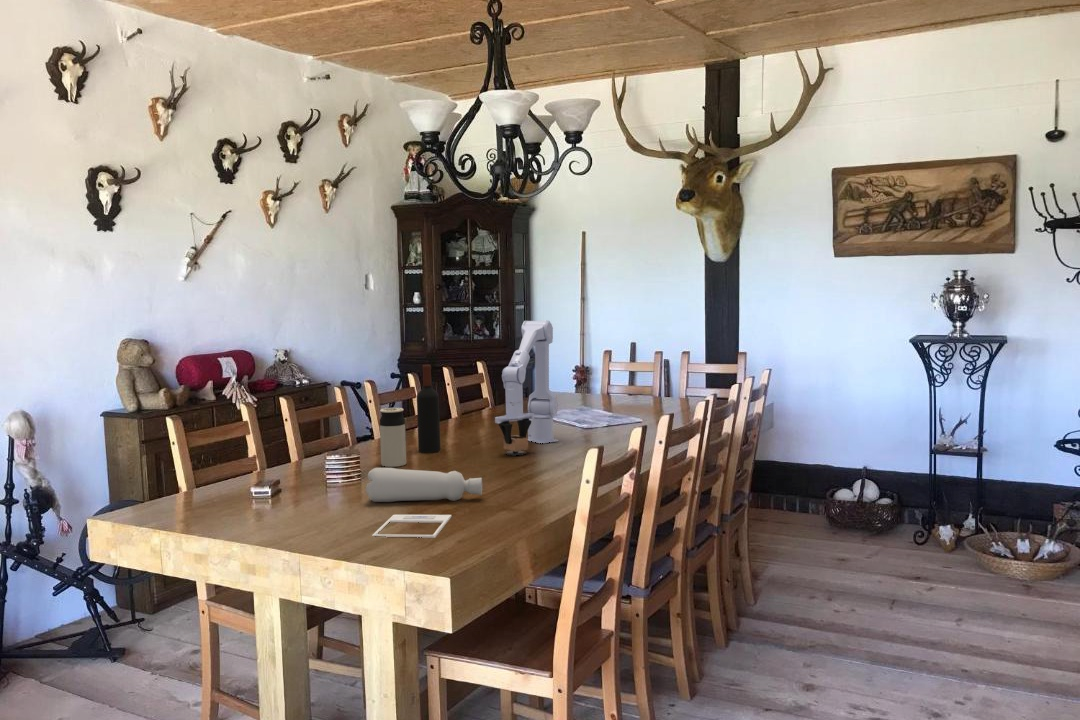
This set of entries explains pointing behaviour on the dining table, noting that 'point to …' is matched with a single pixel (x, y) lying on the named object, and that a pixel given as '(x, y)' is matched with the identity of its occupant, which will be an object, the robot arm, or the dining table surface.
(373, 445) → the dining table surface
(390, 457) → the travel mug
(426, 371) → the wine bottle
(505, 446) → the copper rectangular sleeve
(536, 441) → the robot arm
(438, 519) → the photo frame
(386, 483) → the bottle
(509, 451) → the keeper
